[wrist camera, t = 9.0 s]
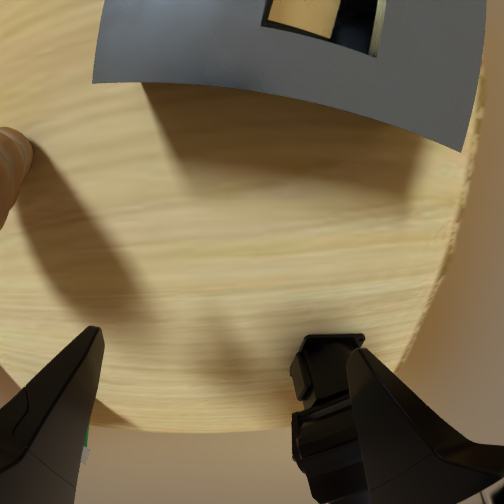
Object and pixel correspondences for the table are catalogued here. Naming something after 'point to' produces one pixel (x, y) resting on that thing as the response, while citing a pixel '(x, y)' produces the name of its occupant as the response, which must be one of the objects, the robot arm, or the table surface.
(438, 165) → the table surface
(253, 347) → the table surface
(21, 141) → the tan ribbed tall piece
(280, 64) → the box
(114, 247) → the table surface
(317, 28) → the tan brushed block
